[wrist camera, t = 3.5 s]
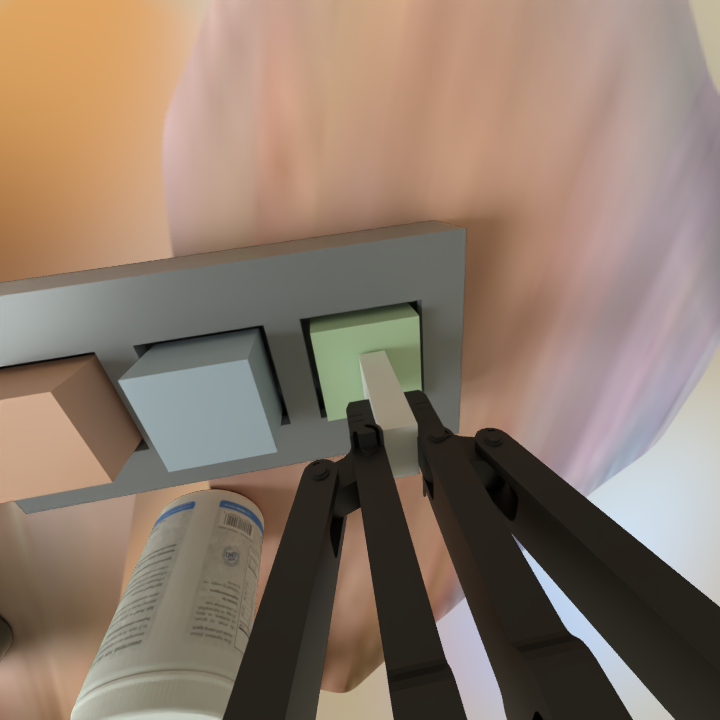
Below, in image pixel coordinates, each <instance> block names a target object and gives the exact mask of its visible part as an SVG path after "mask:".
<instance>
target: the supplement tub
mask: <svg viewBox="0 0 720 720" xmlns="http://www.w3.org/2000/svg"><path fill="white" fill-rule="evenodd" d="M263 533H264V519H263V516H262V514H261V512H260V510H259V508H258V507H257V506H256V505H255V504H254V503H253V502H252V501H250V500H249V499H248V498H246V497H244V496H242V495H240V494H237V493H234V492H230V491H225V490H215V489H211V490H201V491H196V492H192V493H189V494H186V495H183V496H181V497H179V498H177V499H175V500H174V501H172V502H171V503H170V504H169V505H167V506H166V507H165V508H164V509H163V511H162V512H161V513H160V515H159V517H158V519H157V521H156V523H155V525H154V528H153V530H152V532H151V534H150V536H149V538H148V541H147V543H146V545H145V548H144V550H143V552H142V554H141V556H140V559H139V561H138V563H137V566H136V567H135V570H134V572H133V574H132V576H131V579H130V581H129V583H128V586H127V588H126V590H125V592H124V594H123V597H122V599H121V601H120V603H119V606H118V608H117V610H116V612H115V615H114V617H113V619H112V621H111V624H110V626H109V628H108V630H107V633H106V635H105V637H104V639H103V642H102V644H101V646H100V648H99V650H98V653H97V655H96V657H95V659H94V662H93V664H92V666H91V668H90V671H89V673H88V675H87V677H86V680H85V682H84V685H83V687H82V689H81V692H80V694H79V696H78V698H77V701H76V705H75V707H74V708H73V711H72V714H71V720H222V719H223V716H224V713H225V710H226V707H227V704H228V701H229V698H230V695H231V692H232V689H233V686H234V683H235V680H236V676H237V673H238V670H239V667H240V664H241V661H242V658H243V655H244V652H245V649H246V646H247V643H248V640H249V637H250V634H251V631H252V628H253V621H254V612H255V603H256V594H257V586H258V577H259V569H260V560H261V551H262V542H263Z"/></svg>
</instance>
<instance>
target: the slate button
mask: <svg viewBox="0 0 720 720" xmlns="http://www.w3.org/2000/svg"><path fill="white" fill-rule="evenodd" d="M118 382H119V384H120V386H121V388H122V389H123V391H124V393H125V395H126V396H127V398H128V400H129V402H130V404H131V405H132V407H133V409H134V411H135V413H136V414H137V416H138V418H139V420H140V422H141V423H142V425H143V427H144V429H145V430H146V432H147V434H148V436H149V438H150V439H151V441H152V443H153V445H154V447H155V448H156V450H157V452H158V454H159V456H160V457H161V459H162V461H163V463H164V464H165V466H166V468H167V470H168V472H172V471H178V470H183V469H188V468H194V467H199V466H205V465H210V464H216V463H221V462H226V461H232V460H237V459H243V458H248V457H253V456H259V455H264V454H270V453H275V452H277V451H278V443H279V435H280V427H281V419H282V411H283V409H282V406H281V402H280V399H279V395H278V392H277V389H276V385H275V382H274V378H273V375H272V371H271V368H270V364H269V361H268V357H267V354H266V350H265V347H264V343H263V340H262V336H261V333H260V329H259V328H256V329H250V330H243V331H237V332H231V333H224V334H218V335H212V336H206V337H199V338H193V339H187V340H181V341H174V342H168V343H162V344H155V345H153V346H152V347H151V348H150V349H149V350H148V351H147V352H146V353H145V354H144V355H143V356H142V357H141V358H140V359H139V360H138V361H137V362H136V363H135V364H134V365H133V366H132V367H131V368H130V369H129V370H128V371H127V372H126V373H125V374H124V375H123V376H122V377H121V378H120V379H119V380H118Z"/></svg>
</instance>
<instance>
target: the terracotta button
mask: <svg viewBox="0 0 720 720" xmlns="http://www.w3.org/2000/svg"><path fill="white" fill-rule="evenodd" d="M142 438H143V436H142V435H141V433H140V431H139V429H138V428H137V426H136V424H135V422H134V421H133V419H132V417H131V415H130V414H129V412H128V410H127V408H126V407H125V405H124V403H123V401H122V400H121V398H120V396H119V394H118V393H117V391H116V389H115V387H114V386H113V384H112V382H111V380H110V379H109V377H108V375H107V373H106V372H105V370H104V368H103V366H102V365H101V363H100V361H99V359H98V358H97V356H96V354H93V355H86V356H80V357H74V358H68V359H61V360H55V361H49V362H42V363H36V364H30V365H24V366H17V367H11V368H5V369H0V503H4V502H9V501H15V500H20V499H26V498H31V497H37V496H42V495H47V494H53V493H58V492H64V491H69V490H75V489H80V488H85V487H91V486H96V485H102V484H107V483H113V481H114V480H115V478H116V477H117V475H118V474H119V472H120V471H121V469H122V468H123V467H124V465H125V464H126V462H127V461H128V459H129V458H130V456H131V455H132V453H133V452H134V450H135V449H136V447H137V446H138V444H139V443H140V441H141V440H142Z"/></svg>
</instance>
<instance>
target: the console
mask: <svg viewBox="0 0 720 720" xmlns="http://www.w3.org/2000/svg"><path fill="white" fill-rule="evenodd" d="M465 255H466V228H464V227H460V226H456V225H452V224H447V223H443V222H439V221H435V220H433V221H426V222H420V223H413V224H406V225H399V226H392V227H385V228H378V229H371V230H364V231H357V232H350V233H343V234H336V235H329V236H322V237H315V238H308V239H301V240H294V241H287V242H280V243H273V244H266V245H259V246H252V247H245V248H238V249H231V250H224V251H217V252H210V253H203V254H196V255H189V256H182V257H175V258H168V259H161V260H154V261H147V262H140V263H133V264H127V265H119V266H112V267H105V268H98V269H91V270H84V271H77V272H70V273H63V274H56V275H49V276H43V277H36V278H28V279H22V280H15V281H8V282H0V369H5V368H11V367H17V366H24V365H30V364H36V363H42V362H49V361H55V360H61V359H68V358H74V357H80V356H86V355H93V354H96V356H97V358H98V359H99V361H100V363H101V365H102V366H103V368H104V370H105V372H106V373H107V375H108V377H109V379H110V380H111V382H112V384H113V386H114V387H115V389H116V391H117V393H118V394H119V396H120V398H121V400H122V401H123V403H124V405H125V407H126V408H127V410H128V412H129V414H130V415H131V417H132V419H133V421H134V422H135V424H136V426H137V428H138V429H139V431H140V433H141V435H142V436H143V438H142V440H141V441H140V443H139V444H138V446H137V447H136V449H135V450H134V452H133V453H132V455H131V456H130V458H129V459H128V461H127V462H126V464H125V465H124V467H123V468H122V469H121V471H120V472H119V474H118V475H117V477H116V478H115V480H114V481H113V483H107V484H102V485H96V486H91V487H85V488H80V489H75V490H69V491H64V492H58V493H53V494H47V495H42V496H37V497H31V498H26V499H20V500H15V503H16V504H17V505H18V506H19V507H20V508H21V509H22V510H23V511H24V512H25V513H26V514H30V513H35V512H40V511H46V510H51V509H56V508H62V507H67V506H72V505H78V504H83V503H88V502H94V501H99V500H104V499H110V498H115V497H120V496H126V495H131V494H136V493H142V492H147V491H152V490H158V489H163V488H168V487H174V486H179V485H184V484H190V483H195V482H200V481H206V480H211V479H216V478H222V477H227V476H232V475H238V474H243V473H248V472H254V471H259V470H265V469H270V468H275V467H281V466H286V465H291V464H297V463H302V462H307V461H313V460H318V459H323V458H329V457H334V456H339V455H345V454H348V453H349V452H350V449H351V442H350V437H349V436H350V433H349V427H348V420H347V418H344V419H339V420H333V421H328V417H327V413H326V408H325V403H324V398H323V393H322V389H321V384H320V379H319V374H318V369H317V365H316V360H315V355H314V350H313V345H312V340H311V336H310V317H316V316H323V315H329V314H335V313H342V312H348V311H354V310H360V309H367V308H373V307H379V306H386V305H392V304H398V303H405V302H408V304H409V305H410V306H411V307H412V308H413V309H414V310H415V312H416V313H417V314H418V315H419V327H420V358H421V389H422V392H423V393H425V394H426V395H427V397H428V399H429V401H430V402H431V404H432V406H433V408H434V410H435V411H436V413H437V415H438V417H439V419H440V420H441V422H442V424H443V426H444V427H446V428H448V429H450V430H451V431H452V432H453V433H454V434H457V433H459V420H460V392H461V365H462V338H463V310H464V283H465ZM256 328H259V329H260V333H261V336H262V340H263V343H264V347H265V350H266V354H267V357H268V361H269V364H270V368H271V371H272V375H273V378H274V382H275V385H276V389H277V392H278V395H279V399H280V402H281V406H282V409H283V411H282V419H281V427H280V435H279V443H278V451H277V452H275V453H270V454H264V455H259V456H253V457H248V458H243V459H237V460H232V461H226V462H221V463H216V464H210V465H205V466H199V467H194V468H188V469H183V470H178V471H172V472H168V470H167V468H166V466H165V464H164V463H163V461H162V459H161V457H160V456H159V454H158V452H157V450H156V448H155V447H154V445H153V443H152V441H151V439H150V438H149V436H148V434H147V432H146V430H145V429H144V427H143V425H142V423H141V422H140V420H139V418H138V416H137V414H136V413H135V411H134V409H133V407H132V405H131V404H130V402H129V400H128V398H127V396H126V395H125V393H124V391H123V389H122V388H121V386H120V384H119V382H118V380H119V379H120V378H121V377H122V376H123V375H124V374H125V373H126V372H127V371H128V370H129V369H130V368H131V367H132V366H133V365H134V364H135V363H136V362H137V361H138V360H139V359H140V358H141V357H142V356H143V355H144V354H145V353H146V352H147V351H148V350H149V349H150V348H151V347H152V346H153V345H155V344H162V343H168V342H174V341H181V340H187V339H193V338H199V337H206V336H212V335H218V334H224V333H231V332H237V331H243V330H250V329H256Z"/></svg>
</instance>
